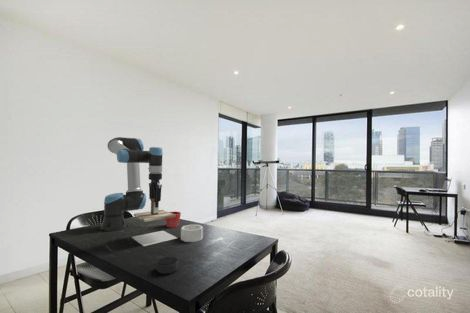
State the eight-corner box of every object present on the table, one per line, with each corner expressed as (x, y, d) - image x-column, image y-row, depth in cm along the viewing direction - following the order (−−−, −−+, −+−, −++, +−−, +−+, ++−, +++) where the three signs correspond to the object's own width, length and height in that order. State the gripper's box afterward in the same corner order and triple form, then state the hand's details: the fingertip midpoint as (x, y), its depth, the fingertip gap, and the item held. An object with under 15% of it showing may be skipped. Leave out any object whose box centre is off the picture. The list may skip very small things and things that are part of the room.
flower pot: (173, 223, 168) (173, 210, 168) (183, 226, 161) (183, 212, 162) (161, 227, 159) (161, 213, 159) (171, 229, 153) (171, 215, 153)
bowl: (177, 239, 134) (177, 227, 134) (195, 234, 142) (195, 223, 143) (188, 244, 125) (188, 231, 126) (206, 239, 133) (206, 227, 134)
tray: (131, 238, 135) (131, 237, 135) (162, 231, 149) (162, 230, 149) (143, 247, 121) (143, 246, 121) (177, 239, 134) (177, 238, 134)
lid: (133, 215, 136) (134, 198, 136) (162, 211, 148) (162, 195, 148) (145, 221, 123) (145, 203, 123) (175, 216, 135) (175, 199, 135)
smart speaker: (170, 263, 102) (170, 254, 102) (182, 269, 96) (182, 260, 96) (152, 270, 95) (152, 260, 95) (163, 277, 90) (164, 267, 90)
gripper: (144, 172, 139) (143, 210, 139) (154, 173, 127) (154, 215, 127) (155, 172, 145) (155, 209, 144) (167, 173, 133) (166, 213, 132)
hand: (154, 212), depth 136 cm, fingers closed on lid, 3 cm apart
